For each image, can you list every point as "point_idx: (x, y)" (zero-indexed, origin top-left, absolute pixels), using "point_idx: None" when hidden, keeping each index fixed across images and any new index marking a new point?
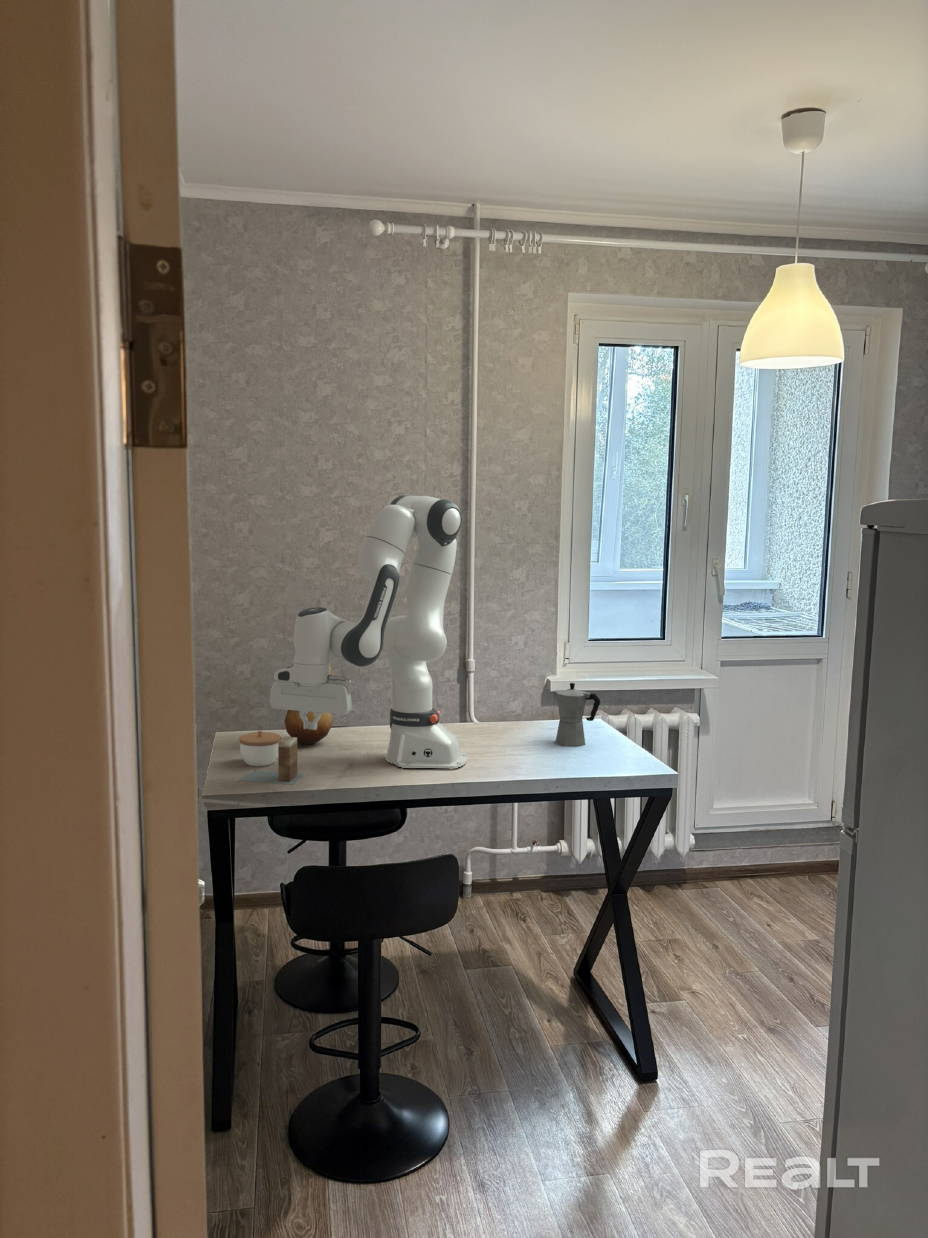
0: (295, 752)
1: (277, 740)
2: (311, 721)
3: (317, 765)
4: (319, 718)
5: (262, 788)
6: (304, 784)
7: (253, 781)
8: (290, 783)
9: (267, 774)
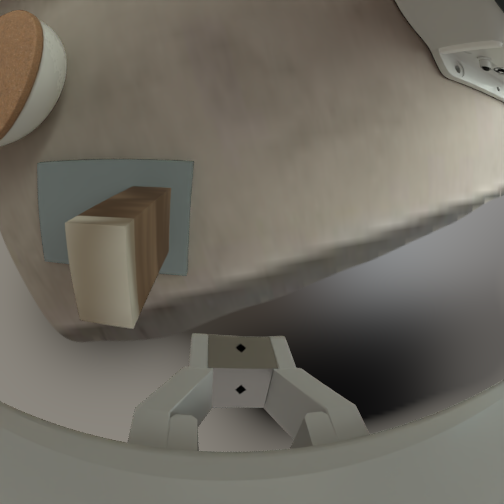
0: (147, 228)
1: (31, 73)
2: (245, 378)
3: (201, 30)
4: (325, 388)
5: None
6: (211, 232)
7: None
8: (176, 266)
9: (79, 192)
